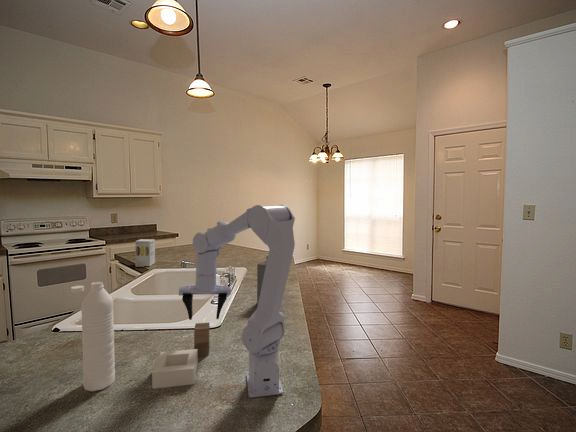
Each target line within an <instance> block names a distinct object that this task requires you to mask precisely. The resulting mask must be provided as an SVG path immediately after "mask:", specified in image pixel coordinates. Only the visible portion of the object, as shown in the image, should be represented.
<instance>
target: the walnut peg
mask: <svg viewBox="0 0 576 432" xmlns="http://www.w3.org/2000/svg"><path fill="white" fill-rule="evenodd" d="M193 330H194V331H193V335H194V336H193V337H194V338H193V340H194V341H193V342H194V343H193V345H194V346H193V348H194V349H198V357H203V356H210V355H209V354H210V322H197V323H195V325H194V328H193Z"/></svg>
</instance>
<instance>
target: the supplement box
mask: <svg viewBox="0 0 576 432" xmlns="http://www.w3.org/2000/svg"><path fill="white" fill-rule="evenodd" d="M134 244H135V250H134V253H135V254H134V257H135V262H134V263H135V265H134V266H135V267H136V268H137V267H139V268H140V267H141V268H142V267H143V268H145V267H144V266H150V267H152V266H153V265H152V264H154V263H155V264H156V239H154V238H153V239H152V238H151V239H148V238H145V239H143V238H141V239H138V240H135V243H134ZM155 264H154V265H155ZM151 265H152V266H151Z"/></svg>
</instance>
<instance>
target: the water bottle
mask: <svg viewBox="0 0 576 432" xmlns="http://www.w3.org/2000/svg"><path fill="white" fill-rule="evenodd" d="M103 283H104V282H103V281H95V282H92V283H91V286H90V290H89V292H88V293H87V294H86V296H85V298H84V299H83V300H82V303H81V305H80V308H81V334H82V338H81V339H82V340H81V343H82V348H81V349H82V368H83V369H82V371H83V373H82V375H83V384H82V385H83V389H84V390H85V391H87V392H88V391H89V392H97V391H100V390H104V389H106V388H107V387H110V386H111V385H112V384H113V383H114V382H115V379H116V369H115V368H116V366H115V365H116V364H115V358H116V357H115V330H114V328H115V324H114V300H113V297H112V295H111V294H110V293H108V291H107V289H105V288H104V286H105V285H104V284H103ZM84 291H85V286H84V285H74V286H71V287H70V293H73V294H77V293H81V292H84Z"/></svg>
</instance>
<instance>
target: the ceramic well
mask: <svg viewBox="0 0 576 432" xmlns="http://www.w3.org/2000/svg"><path fill="white" fill-rule="evenodd" d="M198 357H199V356H198V349H191V348H190V349H183V350H181V349H180V350H170V351H161V352H160V353H159V356H158V358H157V361H156V362H155V365H154V368H153V369H152V372H151V377H152V378H151V379H152V380H151V382H152V386H151V387H152V390H155V389H156V390H157V389H165V388H172V387H173V388H174V387H183V386H192V385H194V384H195V381H196V374H197V368H198V363H199V361H198V360H199V358H198Z"/></svg>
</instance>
